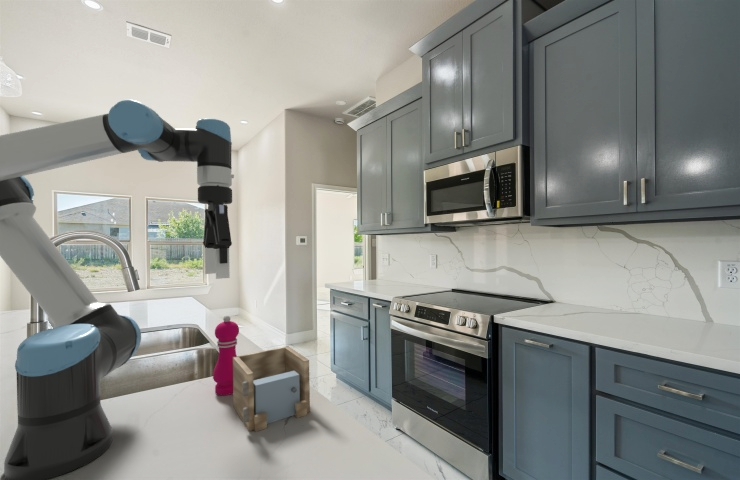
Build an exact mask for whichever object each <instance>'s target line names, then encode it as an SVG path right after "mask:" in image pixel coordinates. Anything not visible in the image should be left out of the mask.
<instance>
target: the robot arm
mask: <svg viewBox="0 0 740 480" xmlns="http://www.w3.org/2000/svg"><path fill="white" fill-rule="evenodd" d="M232 145H233V142H232V134H231V126H230V125H229V124H228V123H227V122H225V121H223V120H220V119H216V118H200V119H198V120H197V121H196V126H195V128H175V127H173V126H172V125H171V124H170V123H168V122H167V121H166V120H164V119H163V117H161V116H160V115H159V114H158V113H157V112H156V110H154V109H152V108H151V107H149V106H147V105H146V104H144V103H142V102H140V101H137V100H135V99H134V100H133V99H123V100H120V101H118V102H117V103H115V104H114V105H113V106H112V107H111V108H110V109H109V112H108V113H104V114H100V115H95V116H90V117H84V118H80V119H75V120H69V121H64V122H60V123H54V124H51V125H46V126H39V127H36V128H31V129H26V130H25V129H24V130H22V131H21V130H19V131H17V132H16V131H15V132H10V133H5V134H0V258H1V259H2V260H3V262H4V263H5V264H6V265H7V267H8V268H9V269H10V270H11V272H12V273H13V274H14V275H15V277H16V278H17V279H18V280H19V282H20V283H21V284H22V286H23V287H24V288H25V289H26V291H27V292H28V293H29V295H30V296H31V297H32V298H33V299H34V300H35V302H36V303H37V305H38V306H39V307H40V309H41V310H43V312H44V313H45V314H46V316H47V318H48V317H49V318H50V320H51V321H52V322H53V323H54V325H55V327H54V329H48V328H47V329H44V330H42V331H39V332H37V333H34V334H32V335H30V336H28V337H27V338H25V339H24V340H23V341H22V342H20V344H19V345H18V347H17V350H16V360H15V362H14V363H15V364H14V367H15V372H16V405H17V408H16V410H17V426H16V430H15V432H14V435H13V437H12V440H11V443H10V446H9V448H8V450H7V453H6V456H5V458H4V461H3V462H4V463H3V467H4V468H3V469H4V470H3V472H4V478H5V479H6V480H47V479H51V478H55V477H59V476H62V475H64V474H67V473H69V472H72V471H74V470H78V469H79V468H81V467H83V466H85V465H88V464H89V463H91V462H92V461H94V460H96V459H98V458H99V457H100V456H101V455H103V454H104V453H105V452H106V451H107V450H108V449H109V448H110V446H111V445H112V443H113V429H112V426H111V424H110V422H109V421H110V420H109V419H108V417H107V415H106V412H105V411H104V409H103V406H102V403H101V379H103V378H105V377H106V376H108V375H109V374H111V373H112V372H113V371H114V370H117V369H118V368H120V367H122V366H123V365H125V364H126V363H127V362H128V361H129V360H130V359H131V358H133V356H134V355H136V353H137V351H138V350H139V347H140V345H141V341H142V332H141V328H140V326H139V324H138V323H137V322H136V321H135V319H133V318H131V317H129V316H127V315H122V314H118V312H117V311H116V310H115V308H114V307H113V306H112V304H110V303H108V302H100V301H98V299H97V298H96V297H95V296H94V294H93V292H92V291H91V290H90V289H89V287H87V285H86V283H84V281H83V279H81V277H80V276H79V275H78V273H77V272H76V270H75V269H74V268H73V267H72V265H71V264H70V263H69V261H68V260H67V259H66V257H65V256H64V254H62V253H61V251H60V249H58V247H57V246H56V245H55V243H54V242H53V241H52V240H51V238H50V237H49V235H48V234H47V233H46V232H45V231H44V229H43V228H42V226H41V225H40V224H39V223H38V221H37V220H36V218H35V217H34V215H35V213H36V212H37V206H36V205H35V204H34V199H33V197H34V196H35V192H34V188H33V186H32V184H31V182H30V181H29V180H28V179H27V178H26V177H25V176H29V175H33V174H37V173H41V172H46V171H47V172H48V171H50V170H51V171H52V170H55V169H59V168H63V167H69V166H71V165H72V166H73V165H77V164H81V163H82V164H83V163H86V162H90V161H95V160H99V159H102V158H107V157H112V156H116V155H119V154H126V153H132V152H135V151H137V152H138V153H139V154H140V157H141V158H142V159H144V160H146V161H152V162H153V161H154V162H156V161H157V162H158V163H163V162H189V163H190V162H193V163H197V165H196V184H197V185H198V186H199V187H198V188H197V202H198V203H200V204H201V205H202V204H204V205H206V204H207V205H208V206H207V208H205V209H204V224H203V225H204V227H203V228H204V229H203V242H202V244H203V247H204V269H205V270H204V273H205V275H210V274H211V275H212V274H215V279H216V280H220V279H230V278H231V277H230V247H231V246H232V244H233V243H232V238H231V237H232V236H231V229H230V228H231V227H230V223H229V222H230V221H229V215H228V209H229V208H228V205H230V204H232V203H233V189H232V188H230V187H231V186H232V184H233V183H232V182H233V181H232V180H233V179H234V178H235V174H232Z"/></svg>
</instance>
